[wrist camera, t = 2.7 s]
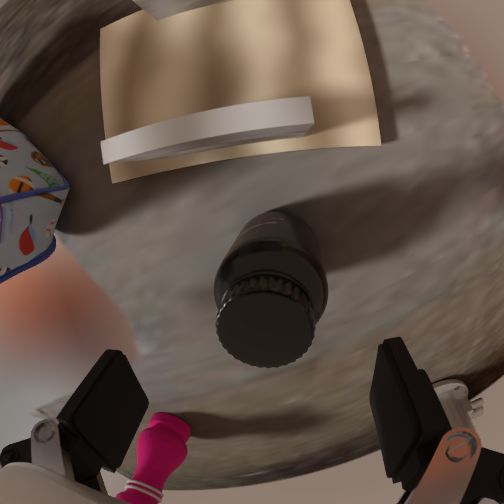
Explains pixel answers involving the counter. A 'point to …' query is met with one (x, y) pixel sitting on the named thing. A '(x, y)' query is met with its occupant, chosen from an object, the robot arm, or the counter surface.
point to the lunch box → (26, 203)
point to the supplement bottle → (270, 291)
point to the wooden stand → (231, 82)
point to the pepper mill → (156, 458)
